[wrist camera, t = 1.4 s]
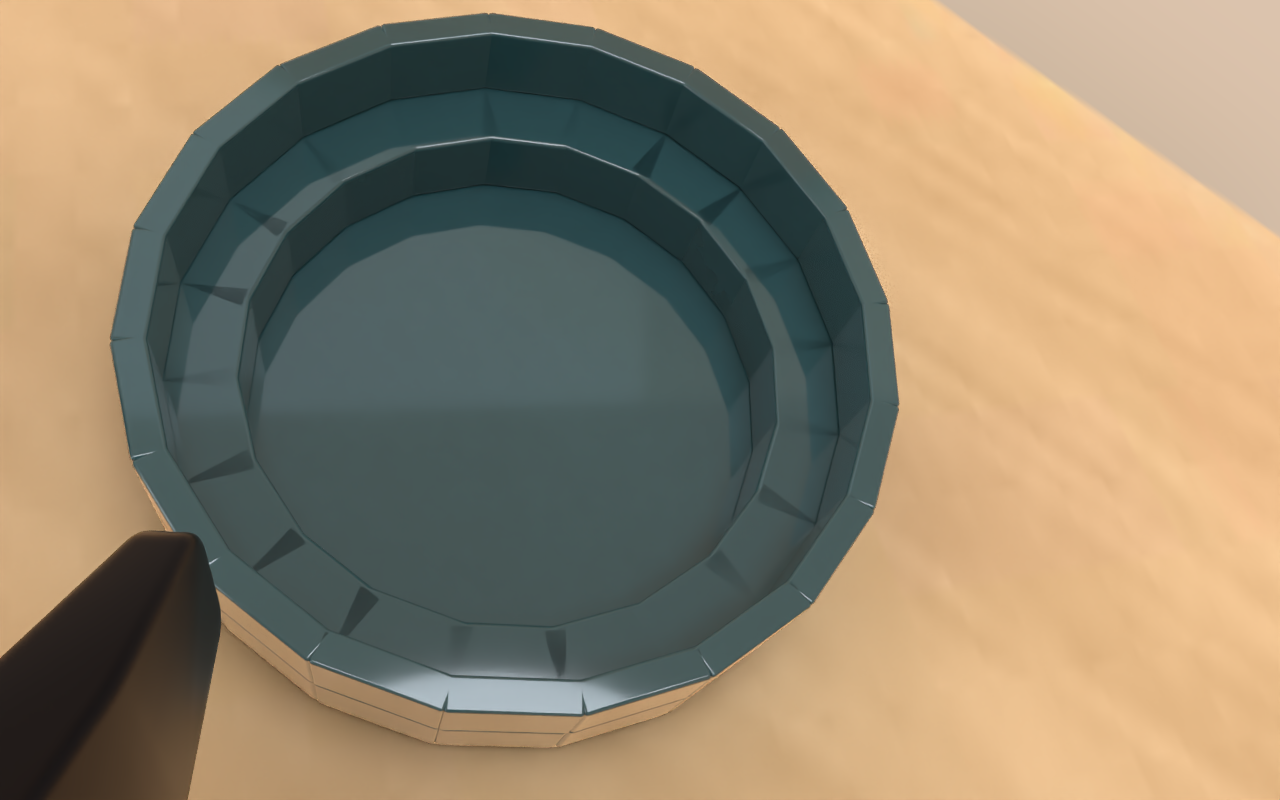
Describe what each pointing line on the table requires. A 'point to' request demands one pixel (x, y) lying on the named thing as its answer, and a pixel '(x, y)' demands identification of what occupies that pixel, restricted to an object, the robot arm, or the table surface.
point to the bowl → (503, 376)
